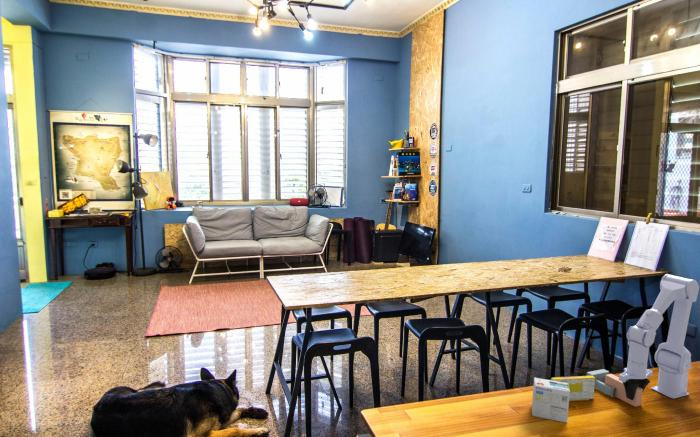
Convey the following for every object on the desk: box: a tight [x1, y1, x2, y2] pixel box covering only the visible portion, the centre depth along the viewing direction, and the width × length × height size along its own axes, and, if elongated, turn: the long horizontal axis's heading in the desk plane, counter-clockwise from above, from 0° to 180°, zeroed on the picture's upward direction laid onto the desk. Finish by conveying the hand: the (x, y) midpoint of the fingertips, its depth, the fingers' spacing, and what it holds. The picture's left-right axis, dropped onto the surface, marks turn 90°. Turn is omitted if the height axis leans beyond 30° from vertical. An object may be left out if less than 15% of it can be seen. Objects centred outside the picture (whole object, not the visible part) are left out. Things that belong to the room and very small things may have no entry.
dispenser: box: [586, 368, 616, 398], centre depth 167 cm, size 9×10×5 cm
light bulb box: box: [531, 376, 570, 424], centre depth 147 cm, size 11×7×11 cm, turn 71°
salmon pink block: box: [605, 373, 644, 407], centre depth 161 cm, size 3×12×6 cm, turn 22°
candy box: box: [550, 375, 595, 402], centre depth 158 cm, size 16×2×8 cm, turn 99°
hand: (633, 397), depth 157 cm, fingers closed on salmon pink block, 3 cm apart
